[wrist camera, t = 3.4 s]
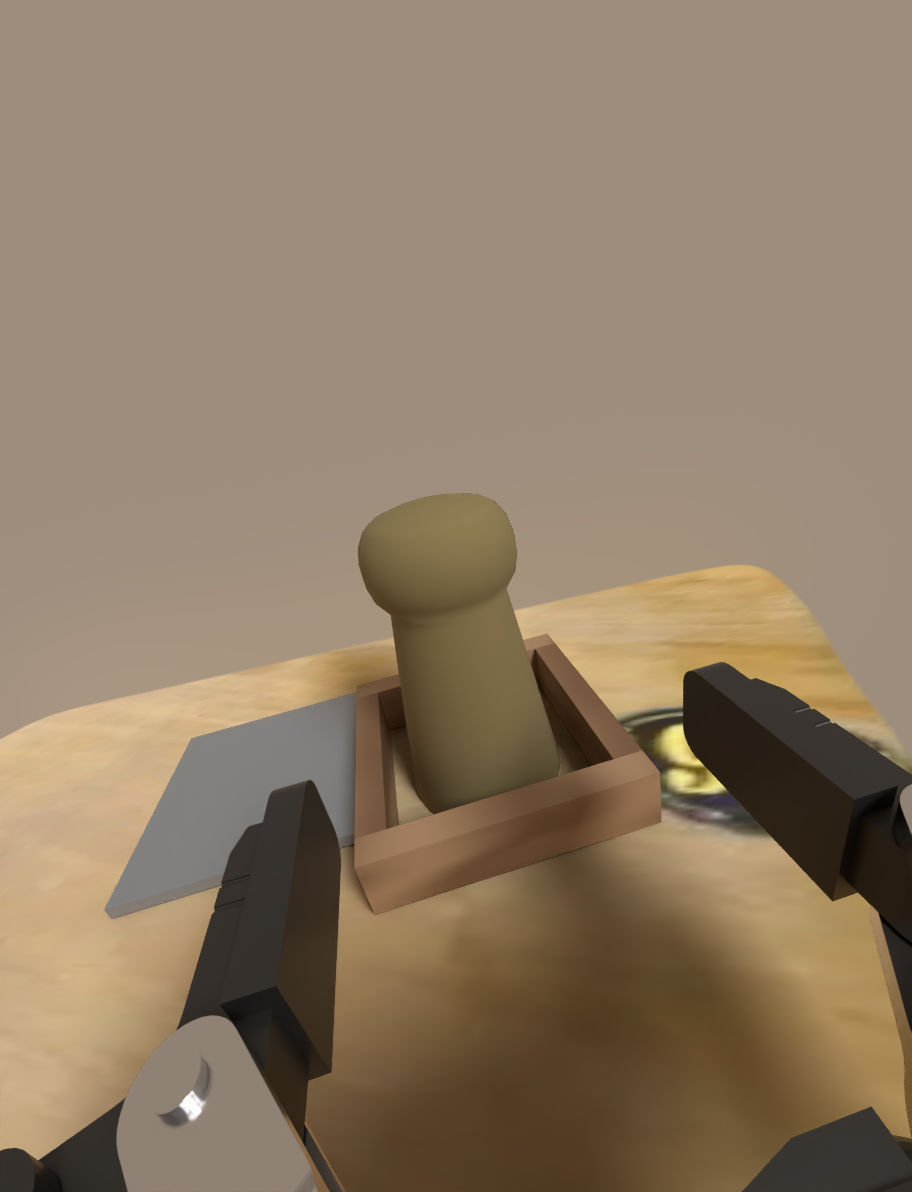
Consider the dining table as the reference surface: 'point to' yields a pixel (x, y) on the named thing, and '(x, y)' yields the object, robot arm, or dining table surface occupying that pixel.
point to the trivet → (238, 798)
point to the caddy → (496, 797)
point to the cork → (458, 648)
